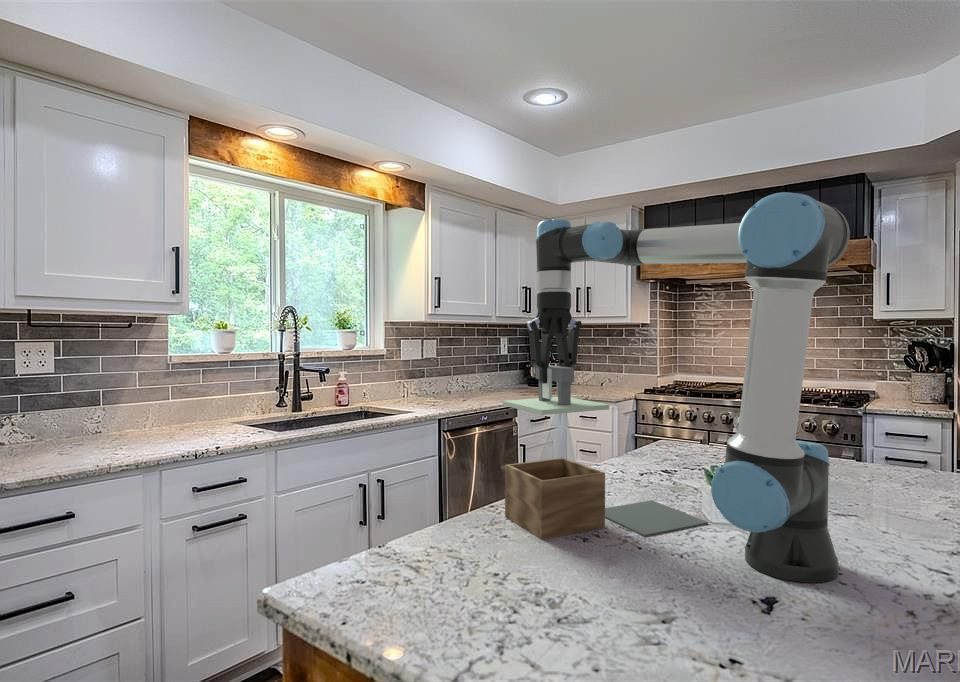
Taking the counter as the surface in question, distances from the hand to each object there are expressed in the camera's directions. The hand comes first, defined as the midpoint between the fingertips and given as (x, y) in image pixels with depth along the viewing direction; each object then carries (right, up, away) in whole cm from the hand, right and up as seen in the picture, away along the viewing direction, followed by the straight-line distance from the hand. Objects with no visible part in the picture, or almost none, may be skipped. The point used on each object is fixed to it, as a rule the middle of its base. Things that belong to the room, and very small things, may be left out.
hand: (554, 397), depth 132 cm
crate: (0, -28, +1) cm, 28 cm away
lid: (0, -2, 0) cm, 2 cm away
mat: (+22, -28, +4) cm, 36 cm away
